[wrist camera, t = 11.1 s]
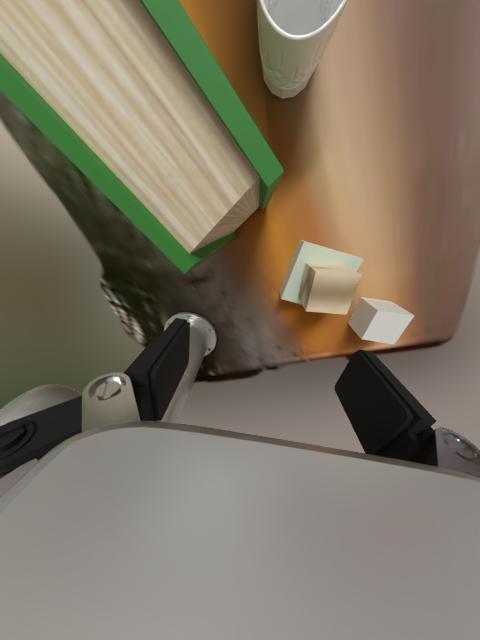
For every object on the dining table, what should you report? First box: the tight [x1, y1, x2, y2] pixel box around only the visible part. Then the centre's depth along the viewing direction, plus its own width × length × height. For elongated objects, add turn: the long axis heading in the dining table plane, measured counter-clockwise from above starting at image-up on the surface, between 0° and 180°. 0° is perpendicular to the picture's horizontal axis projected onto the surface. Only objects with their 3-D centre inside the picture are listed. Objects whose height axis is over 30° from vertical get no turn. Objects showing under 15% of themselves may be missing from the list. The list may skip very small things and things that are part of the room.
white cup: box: [257, 0, 347, 99], centre depth 17 cm, size 8×8×10 cm
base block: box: [279, 240, 364, 305], centre depth 32 cm, size 10×10×4 cm
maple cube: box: [298, 263, 361, 314], centre depth 28 cm, size 6×6×6 cm
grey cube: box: [348, 297, 414, 344], centre depth 34 cm, size 6×6×6 cm
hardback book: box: [0, 0, 284, 274], centre depth 17 cm, size 18×7×24 cm, turn 42°
